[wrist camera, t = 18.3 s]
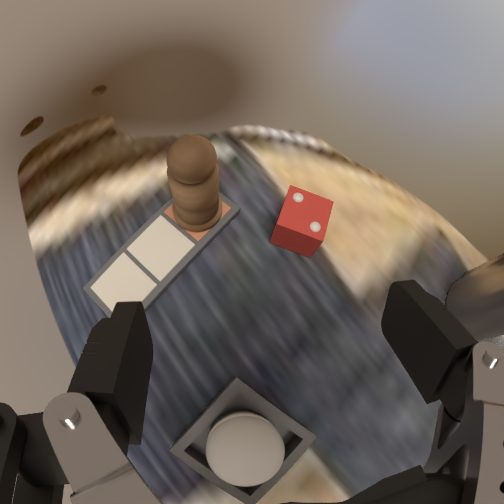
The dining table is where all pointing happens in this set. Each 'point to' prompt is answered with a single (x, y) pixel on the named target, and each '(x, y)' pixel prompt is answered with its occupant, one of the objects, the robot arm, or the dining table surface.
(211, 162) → the wooden pawn
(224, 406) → the base
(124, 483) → the robot arm
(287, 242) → the red die
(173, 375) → the dining table surface
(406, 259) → the dining table surface
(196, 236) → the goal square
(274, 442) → the dome
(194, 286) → the dining table surface
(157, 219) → the track board
